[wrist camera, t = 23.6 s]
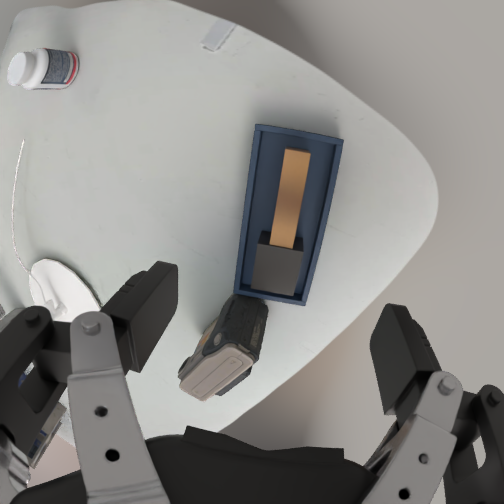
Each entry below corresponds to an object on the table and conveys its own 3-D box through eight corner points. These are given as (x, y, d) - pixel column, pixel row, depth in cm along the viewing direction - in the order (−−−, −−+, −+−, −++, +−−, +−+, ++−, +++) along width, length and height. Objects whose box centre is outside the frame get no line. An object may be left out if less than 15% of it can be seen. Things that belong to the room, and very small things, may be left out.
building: (13, 384, 68) (-17, 424, 47) (10, 358, 58) (-30, 406, 37) (61, 425, 71) (34, 469, 50) (66, 408, 61) (32, 463, 40)
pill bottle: (77, 45, 24) (29, 37, 16) (82, 78, 26) (31, 75, 18) (51, 64, 25) (3, 62, 17) (55, 95, 27) (5, 98, 19)
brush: (275, 144, 26) (272, 146, 23) (319, 152, 26) (323, 156, 23) (255, 271, 32) (250, 288, 29) (293, 278, 32) (293, 296, 29)
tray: (257, 124, 26) (255, 123, 24) (340, 139, 26) (344, 139, 24) (236, 284, 34) (233, 293, 32) (304, 296, 34) (305, 306, 32)
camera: (241, 281, 34) (222, 337, 25) (278, 309, 35) (271, 369, 26) (192, 333, 38) (167, 386, 29) (225, 355, 39) (208, 410, 30)
